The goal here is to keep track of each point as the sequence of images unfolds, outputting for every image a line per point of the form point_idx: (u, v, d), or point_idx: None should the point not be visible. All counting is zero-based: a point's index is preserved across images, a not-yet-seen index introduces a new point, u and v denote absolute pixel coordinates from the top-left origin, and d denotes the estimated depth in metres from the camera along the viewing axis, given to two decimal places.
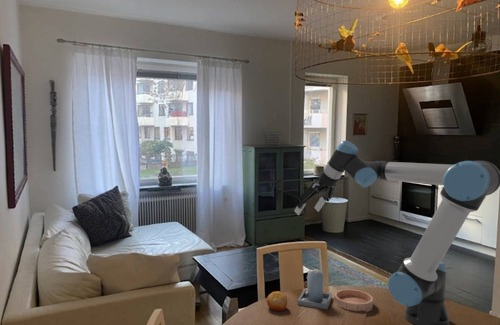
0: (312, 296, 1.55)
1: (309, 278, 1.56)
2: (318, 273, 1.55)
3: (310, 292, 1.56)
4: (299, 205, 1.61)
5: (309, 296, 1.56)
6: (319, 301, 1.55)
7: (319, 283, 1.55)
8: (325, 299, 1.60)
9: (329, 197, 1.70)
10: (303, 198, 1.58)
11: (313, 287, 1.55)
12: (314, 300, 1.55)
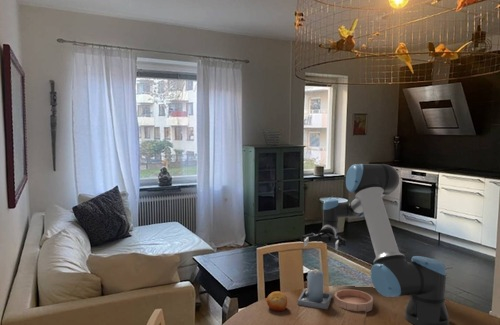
0: (312, 296, 1.55)
1: (309, 278, 1.56)
2: (318, 273, 1.55)
3: (310, 292, 1.56)
4: None
5: (309, 296, 1.56)
6: (319, 301, 1.55)
7: (319, 283, 1.55)
8: (325, 299, 1.60)
9: (342, 240, 1.72)
10: None
11: (313, 287, 1.55)
12: (314, 300, 1.55)
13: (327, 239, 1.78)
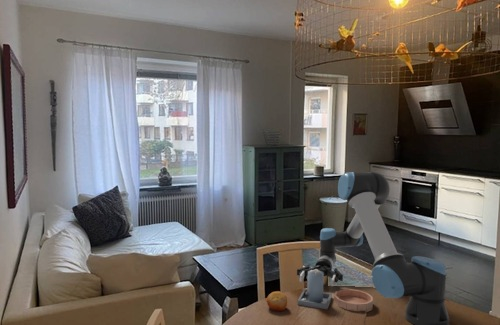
0: (312, 296, 1.55)
1: (309, 278, 1.56)
2: (318, 273, 1.55)
3: (310, 292, 1.56)
4: None
5: (309, 296, 1.56)
6: (319, 301, 1.55)
7: (319, 283, 1.55)
8: (325, 299, 1.60)
9: (339, 275, 1.67)
10: None
11: (313, 287, 1.55)
12: (314, 300, 1.55)
13: (324, 272, 1.73)
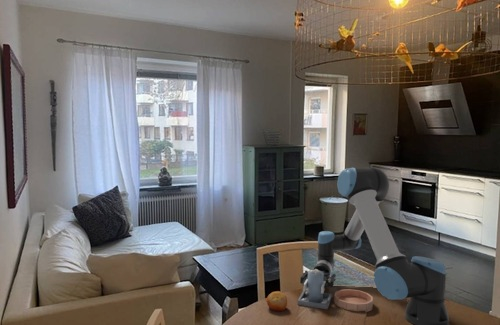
0: (312, 296, 1.55)
1: (309, 278, 1.56)
2: (318, 273, 1.55)
3: (310, 292, 1.56)
4: None
5: (309, 296, 1.56)
6: (319, 301, 1.55)
7: (319, 283, 1.55)
8: (325, 299, 1.60)
9: (330, 281, 1.59)
10: None
11: (313, 287, 1.55)
12: (314, 300, 1.55)
13: None
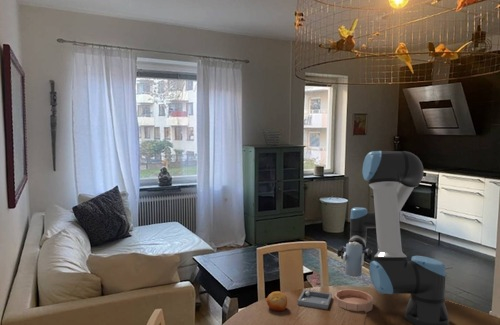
0: (351, 268, 1.53)
1: (348, 250, 1.54)
2: (357, 245, 1.53)
3: (349, 264, 1.54)
4: (341, 255, 1.57)
5: (348, 269, 1.54)
6: (358, 273, 1.53)
7: (359, 255, 1.53)
8: (325, 299, 1.60)
9: (368, 253, 1.57)
10: None
11: (352, 259, 1.53)
12: (353, 272, 1.53)
13: None
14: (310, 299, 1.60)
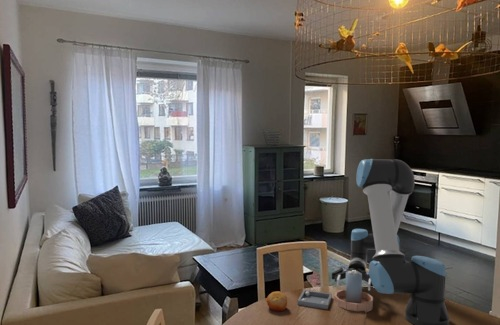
0: (351, 297, 1.54)
1: (347, 279, 1.55)
2: (357, 274, 1.54)
3: (349, 293, 1.54)
4: (335, 278, 1.60)
5: (347, 298, 1.55)
6: (358, 302, 1.54)
7: (358, 284, 1.53)
8: (325, 299, 1.60)
9: None
10: None
11: (352, 288, 1.53)
12: (353, 301, 1.54)
13: None
14: (310, 299, 1.60)
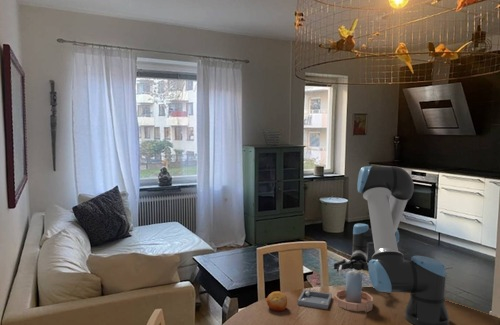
0: (351, 297, 1.54)
1: (348, 279, 1.55)
2: (357, 274, 1.54)
3: (349, 293, 1.54)
4: (337, 268, 1.72)
5: (348, 298, 1.55)
6: (358, 302, 1.54)
7: (359, 284, 1.53)
8: (325, 299, 1.60)
9: None
10: None
11: (352, 288, 1.53)
12: (353, 301, 1.54)
13: (360, 267, 1.76)
14: (310, 299, 1.60)
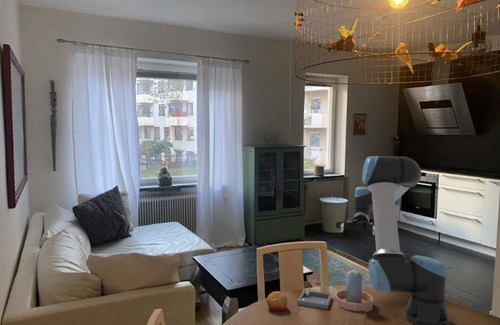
0: (351, 297, 1.54)
1: (348, 279, 1.55)
2: (357, 274, 1.54)
3: (349, 293, 1.54)
4: (339, 226, 1.74)
5: (348, 298, 1.55)
6: (358, 302, 1.54)
7: (359, 284, 1.53)
8: (325, 299, 1.60)
9: None
10: None
11: (352, 288, 1.53)
12: (353, 301, 1.54)
13: (362, 225, 1.78)
14: (310, 299, 1.60)
